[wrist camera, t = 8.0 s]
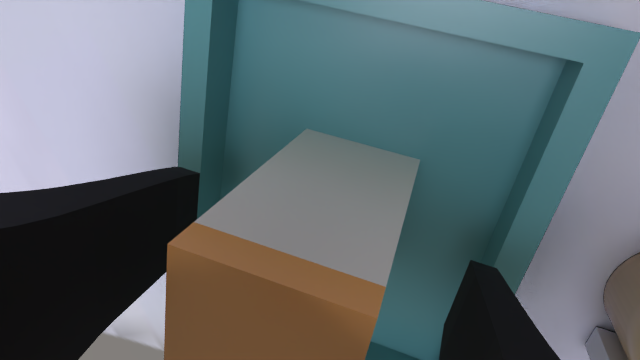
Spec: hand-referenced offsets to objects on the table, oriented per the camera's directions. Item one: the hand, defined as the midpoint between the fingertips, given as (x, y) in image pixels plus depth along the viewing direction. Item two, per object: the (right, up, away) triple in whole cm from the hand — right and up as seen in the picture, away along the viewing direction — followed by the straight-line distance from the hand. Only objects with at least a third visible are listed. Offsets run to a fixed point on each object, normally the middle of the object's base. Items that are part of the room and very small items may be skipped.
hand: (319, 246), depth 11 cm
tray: (+1, +1, +3) cm, 4 cm away
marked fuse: (+1, +1, +3) cm, 3 cm away
